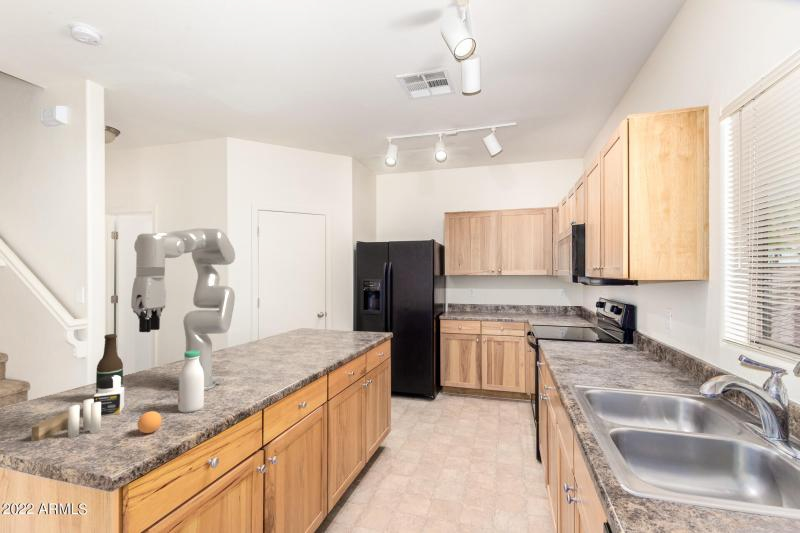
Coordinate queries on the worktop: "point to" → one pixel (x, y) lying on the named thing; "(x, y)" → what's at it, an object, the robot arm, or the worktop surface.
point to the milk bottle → (191, 384)
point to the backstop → (50, 426)
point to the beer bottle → (109, 361)
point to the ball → (149, 422)
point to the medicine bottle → (110, 395)
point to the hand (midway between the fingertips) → (149, 330)
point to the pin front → (95, 417)
